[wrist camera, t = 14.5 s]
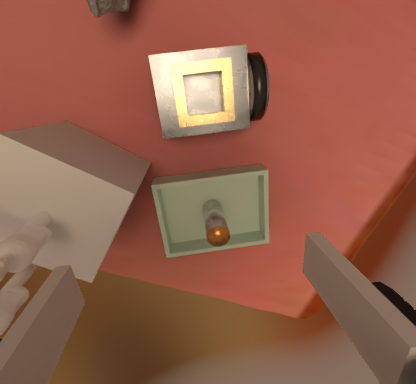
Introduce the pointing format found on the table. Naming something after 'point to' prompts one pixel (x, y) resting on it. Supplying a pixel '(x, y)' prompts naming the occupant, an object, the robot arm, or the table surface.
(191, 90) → the block
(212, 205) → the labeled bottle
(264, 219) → the tray
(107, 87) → the table surface
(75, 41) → the table surface
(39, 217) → the grey box
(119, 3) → the fossil
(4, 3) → the table surface
